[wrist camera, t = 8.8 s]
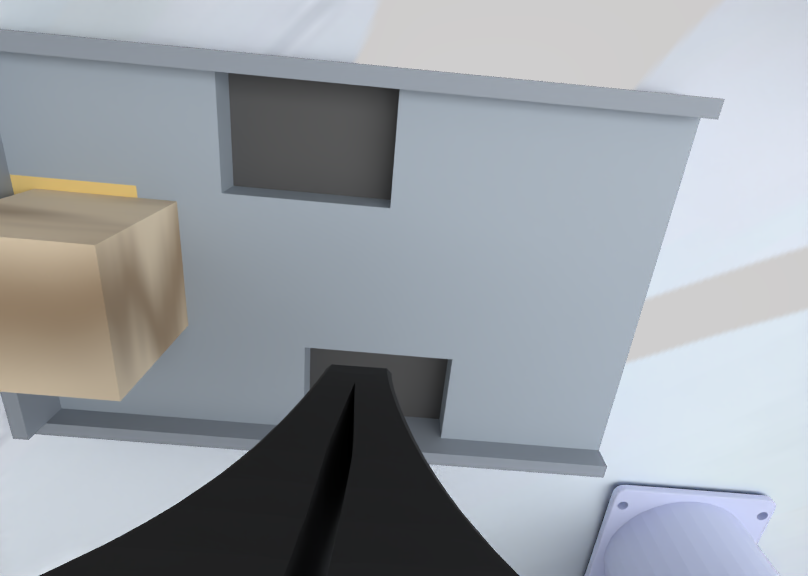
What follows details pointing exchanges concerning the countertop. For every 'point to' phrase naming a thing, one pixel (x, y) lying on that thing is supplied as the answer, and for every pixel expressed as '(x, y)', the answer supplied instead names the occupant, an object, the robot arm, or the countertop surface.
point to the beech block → (87, 291)
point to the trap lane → (362, 237)
